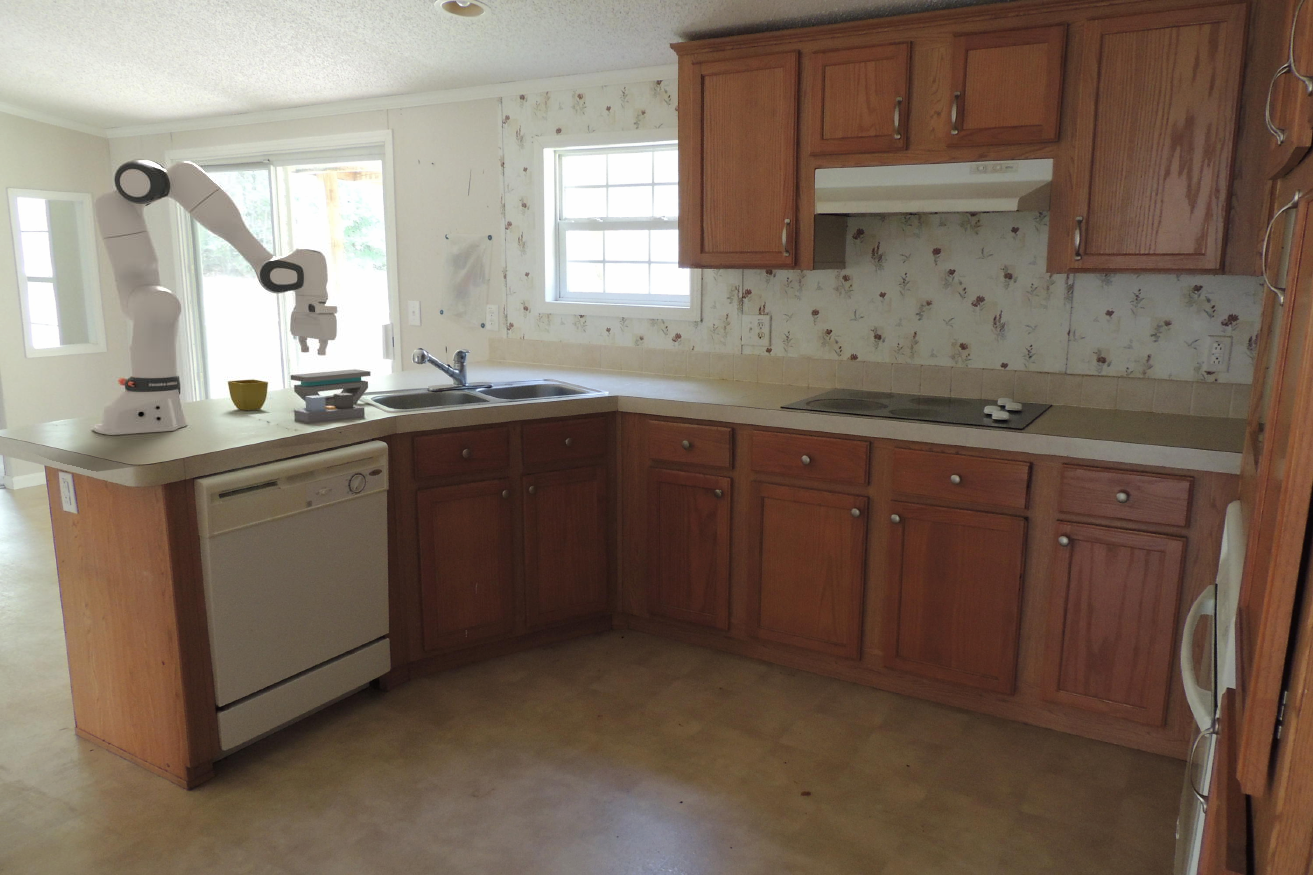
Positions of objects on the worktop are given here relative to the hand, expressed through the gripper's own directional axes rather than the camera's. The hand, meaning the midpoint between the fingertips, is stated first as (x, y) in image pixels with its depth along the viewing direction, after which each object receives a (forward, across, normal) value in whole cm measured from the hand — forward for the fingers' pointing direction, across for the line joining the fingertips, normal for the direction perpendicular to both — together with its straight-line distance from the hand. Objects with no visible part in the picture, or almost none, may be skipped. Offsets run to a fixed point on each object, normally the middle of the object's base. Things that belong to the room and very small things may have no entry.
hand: (313, 353), depth 258 cm
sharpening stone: (+21, -27, +21) cm, 40 cm away
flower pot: (+21, -35, -3) cm, 41 cm away
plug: (+20, 0, 0) cm, 20 cm away
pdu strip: (+20, 0, +5) cm, 21 cm away
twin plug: (+20, 0, +9) cm, 22 cm away
